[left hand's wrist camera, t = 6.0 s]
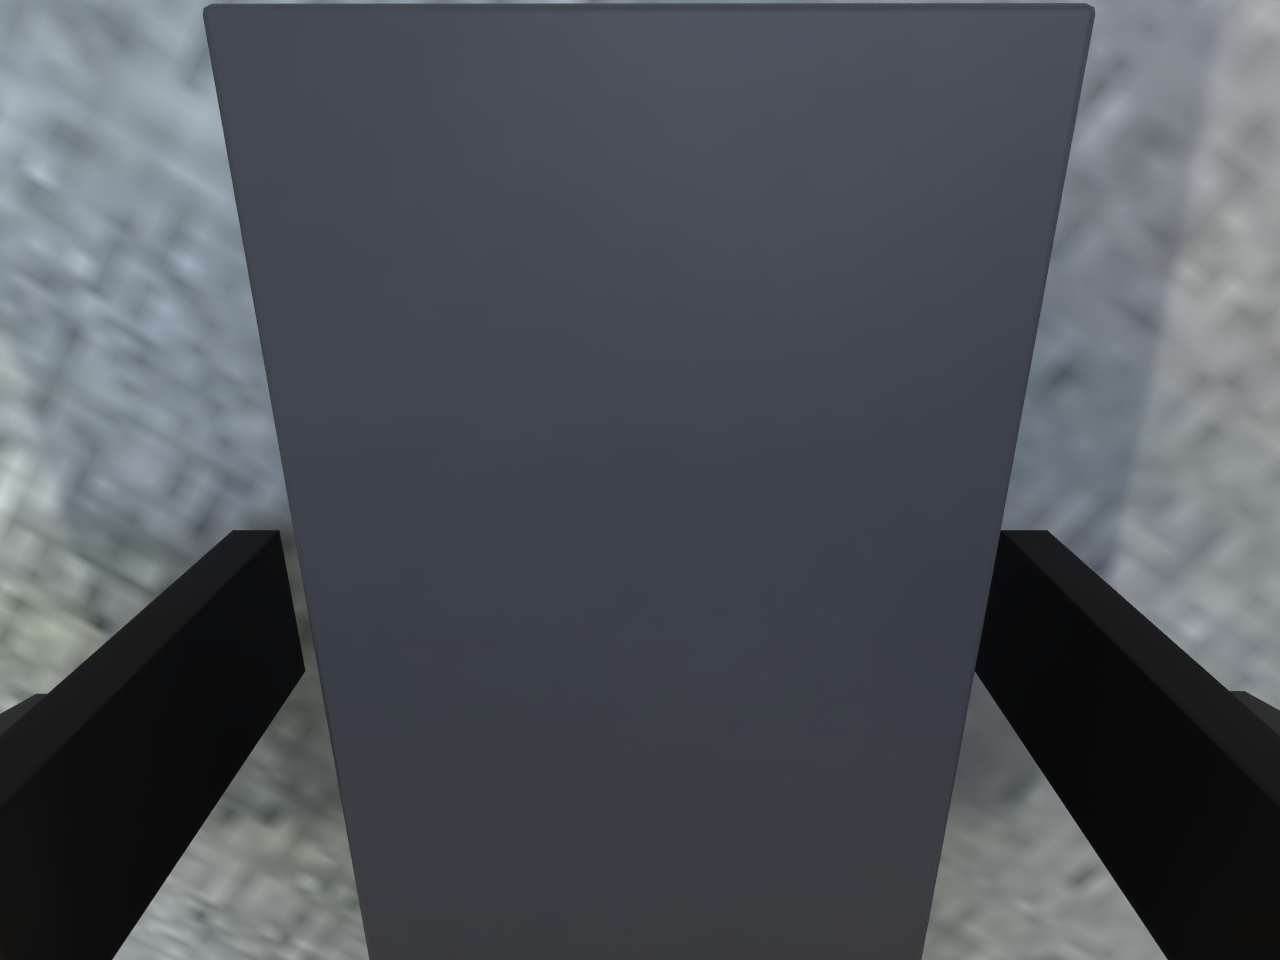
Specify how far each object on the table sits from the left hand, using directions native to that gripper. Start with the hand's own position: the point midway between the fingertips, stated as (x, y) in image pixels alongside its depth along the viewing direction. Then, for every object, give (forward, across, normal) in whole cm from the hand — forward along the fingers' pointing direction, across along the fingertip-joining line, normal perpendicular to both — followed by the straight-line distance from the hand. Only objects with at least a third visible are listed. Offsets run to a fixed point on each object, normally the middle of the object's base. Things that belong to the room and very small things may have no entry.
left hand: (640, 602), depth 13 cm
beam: (+2, 0, -18) cm, 18 cm away
